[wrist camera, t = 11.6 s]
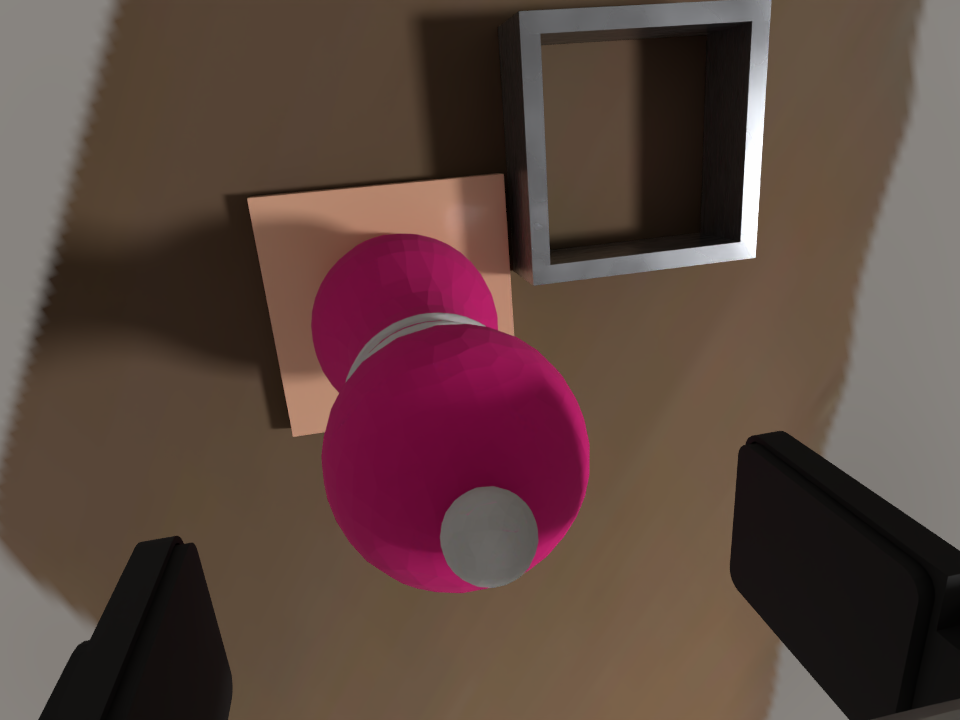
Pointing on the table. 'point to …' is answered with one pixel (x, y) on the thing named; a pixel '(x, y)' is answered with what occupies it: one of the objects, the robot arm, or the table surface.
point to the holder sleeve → (726, 144)
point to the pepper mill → (441, 421)
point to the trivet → (345, 224)
